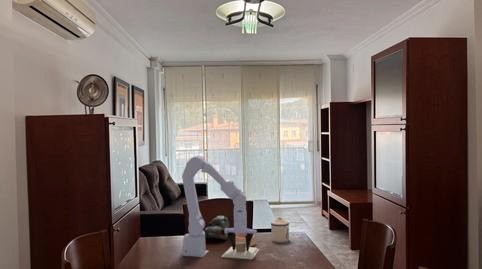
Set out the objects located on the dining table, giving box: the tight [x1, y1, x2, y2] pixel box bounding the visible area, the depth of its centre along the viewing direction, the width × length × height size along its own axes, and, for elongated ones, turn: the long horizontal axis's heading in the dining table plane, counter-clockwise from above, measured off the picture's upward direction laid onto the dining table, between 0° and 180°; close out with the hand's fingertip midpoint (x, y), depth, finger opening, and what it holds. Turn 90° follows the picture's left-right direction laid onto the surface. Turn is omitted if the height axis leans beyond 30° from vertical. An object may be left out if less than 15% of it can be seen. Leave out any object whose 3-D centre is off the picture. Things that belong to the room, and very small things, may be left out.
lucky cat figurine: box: [204, 214, 230, 241], centre depth 186 cm, size 15×12×14 cm
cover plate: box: [223, 242, 258, 259], centre depth 162 cm, size 12×12×4 cm
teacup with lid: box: [270, 216, 290, 243], centre depth 182 cm, size 12×9×12 cm
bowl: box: [236, 234, 257, 247], centre depth 175 cm, size 10×10×4 cm
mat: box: [220, 246, 261, 260], centre depth 162 cm, size 14×14×1 cm
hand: (240, 249), depth 162 cm, fingers open, 6 cm apart
